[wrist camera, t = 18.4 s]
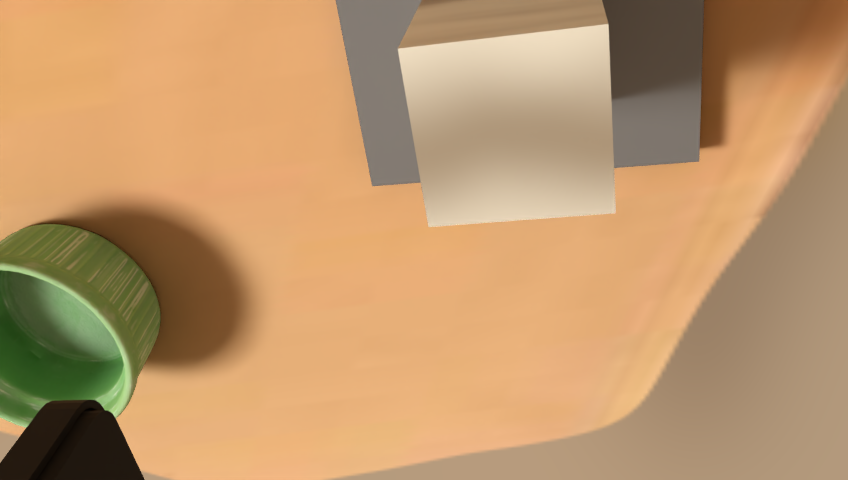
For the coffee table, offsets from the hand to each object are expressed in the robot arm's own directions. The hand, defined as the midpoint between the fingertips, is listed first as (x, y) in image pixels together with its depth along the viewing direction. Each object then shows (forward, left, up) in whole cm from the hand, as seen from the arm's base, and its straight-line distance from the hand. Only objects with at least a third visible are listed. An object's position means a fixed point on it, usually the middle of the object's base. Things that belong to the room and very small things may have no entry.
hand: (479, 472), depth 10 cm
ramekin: (+10, -21, -21) cm, 32 cm away
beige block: (0, 0, -20) cm, 20 cm away
